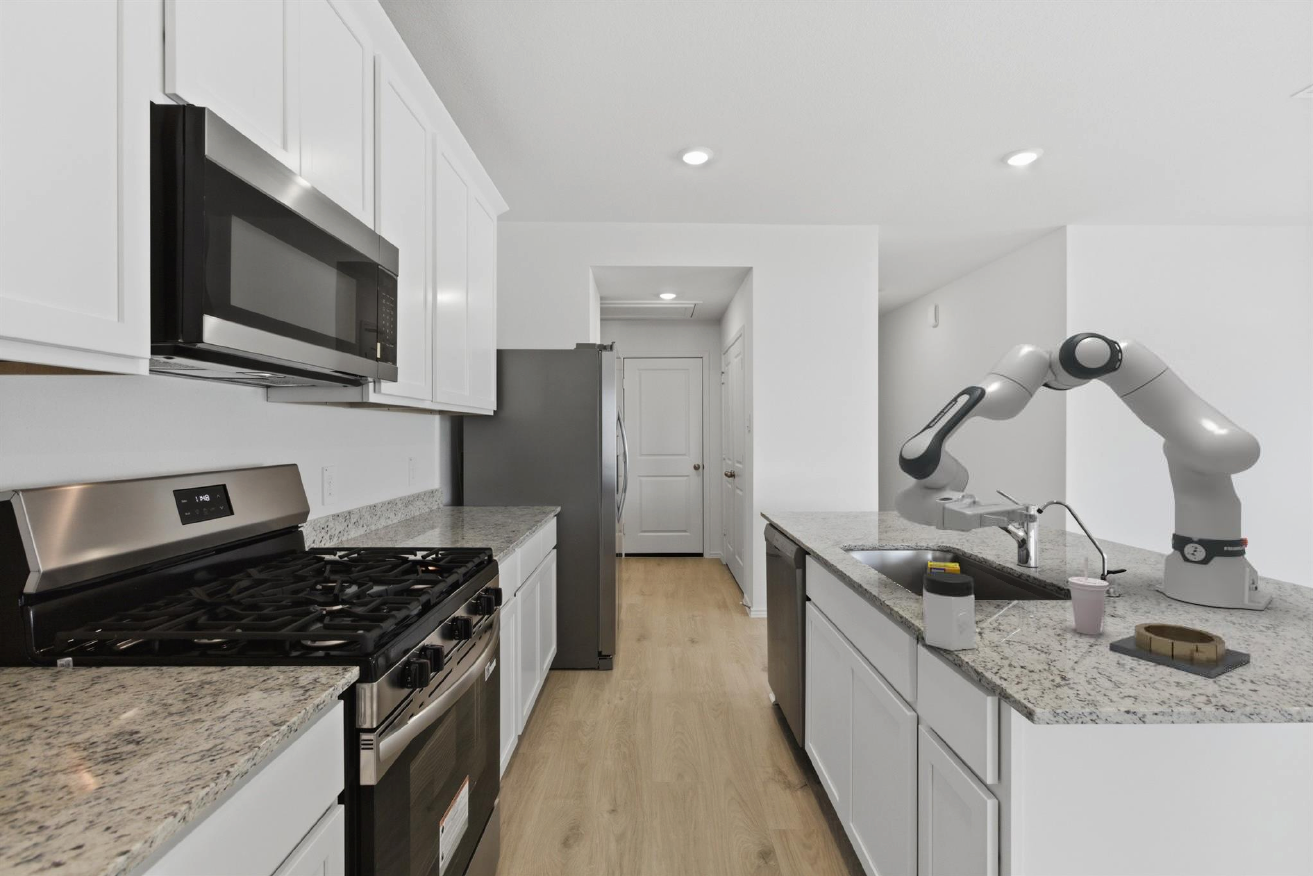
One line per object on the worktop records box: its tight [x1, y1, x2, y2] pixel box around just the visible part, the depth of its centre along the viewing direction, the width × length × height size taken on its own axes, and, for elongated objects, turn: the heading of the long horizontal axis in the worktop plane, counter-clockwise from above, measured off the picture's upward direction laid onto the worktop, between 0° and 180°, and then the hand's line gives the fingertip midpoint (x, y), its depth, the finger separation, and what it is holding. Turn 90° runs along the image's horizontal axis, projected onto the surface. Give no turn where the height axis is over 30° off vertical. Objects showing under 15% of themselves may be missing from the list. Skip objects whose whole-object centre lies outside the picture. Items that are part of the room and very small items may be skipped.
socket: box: [1108, 622, 1251, 679], centre depth 105 cm, size 14×14×4 cm
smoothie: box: [1067, 556, 1110, 636], centre depth 117 cm, size 6×6×14 cm
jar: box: [922, 572, 976, 652], centre depth 111 cm, size 9×8×12 cm
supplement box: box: [926, 560, 961, 574], centre depth 126 cm, size 6×6×11 cm
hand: (1021, 520), depth 127 cm, fingers open, 8 cm apart
